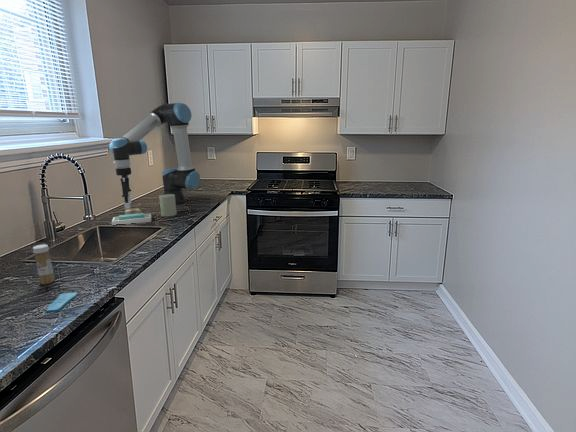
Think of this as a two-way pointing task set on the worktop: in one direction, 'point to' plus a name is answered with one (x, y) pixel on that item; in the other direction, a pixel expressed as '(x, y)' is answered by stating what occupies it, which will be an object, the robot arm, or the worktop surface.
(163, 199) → the can
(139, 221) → the tray
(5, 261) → the worktop surface
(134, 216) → the bar
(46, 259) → the sprinkles bottle
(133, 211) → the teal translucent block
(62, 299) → the sponge
